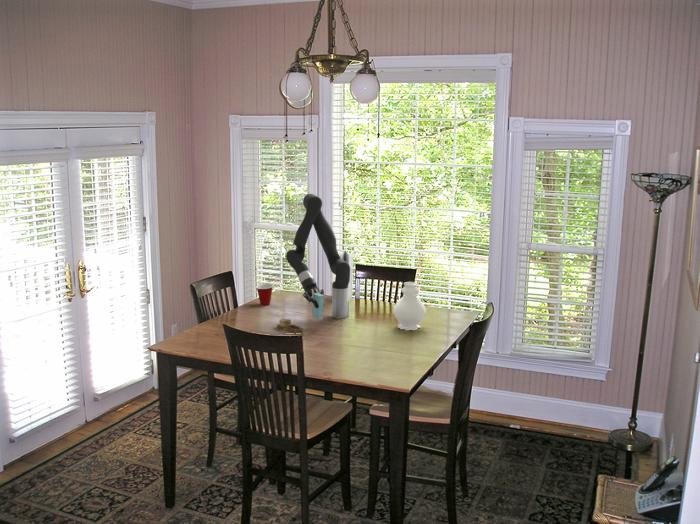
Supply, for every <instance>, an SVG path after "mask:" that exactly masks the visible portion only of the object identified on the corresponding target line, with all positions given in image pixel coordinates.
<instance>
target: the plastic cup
mask: <svg viewBox="0 0 700 524" xmlns="http://www.w3.org/2000/svg"><path fill="white" fill-rule="evenodd" d="M255 288H256V290H257V296H258V299H259V305H260V306H262V307H263V306H264V307H266V306H270V304H271V300H272V294H273V288H274V284H271V283H265V284H263V283H262V284H259V285H256V286H255Z"/></svg>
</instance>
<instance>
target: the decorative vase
mask: <svg viewBox="0 0 700 524" xmlns="http://www.w3.org/2000/svg"><path fill="white" fill-rule="evenodd" d="M403 285H404V286H403V288H402V289H401V292H402V294H403V296H402V297H401V298H399V300H398V301H397V302H396V303H395V305H394V307H393V315H394V317H395V318H396V320H397V322H399V324H398V325H397V328H398V329H399V328H400V330H402V329H405V330H404V331H409V330H413V331H415V330H414V329H418V328H419V327H420V328H421V325H419V324H420V323H421V322H422V321H423V319H425V317H426V314H427V310H426V309H427V308H426V307H425V304H424V303H423V302H422V300H421V299H420V298H419V297H418V296H417V295H418V294H419V293H420V290H419V287H417V286H418V282H414V281H405V282H403ZM418 330H419V329H418Z"/></svg>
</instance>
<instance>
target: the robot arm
mask: <svg viewBox="0 0 700 524" xmlns="http://www.w3.org/2000/svg"><path fill="white" fill-rule="evenodd" d="M302 203H303V207H304V208H305V215H304V217H303V220H302V221H301V223H300V225H299V226H298V228H297V231H296V233H295V237H294V239H293V242H292V243H293V245H294V246H295V249H289V250H288V251H287V252H286V255H285V258H286V261H287V263H288V264H289V265H290V266H291V268H292V269H293V270H294V271H295V273H296V276H297V277H298V280H299V283H300V285H301V286H302V288H303V290H304V292H303V293H302V297H304V298H305V300H306V301H307V302H308V303H312V305H313V304H314V306H315V307H316V308H318V307H319V305H318V303H317V301H315V300H316V299H315V296H314V293H319V294H322V295H324V296H325V291H324V289H323V288H322V289H320V288H319V287H318V284H317V282H316V280H315V278H314V276H313V274H312V273H311V272H310V269H309V268H308V266H307V264H306V263H305V262H303V261H304V259H305V254H306V245H307V241H308V239H309V236H310V233H311V231H312V228H314V231H315V233H316V236H317V239H318V240H319V243H320V246H321V247H322V249H323V252H324V254H325V256H326V260H327V262H328V265H329V269H330V272H332V273H331V274H334V275H335V279H334V281H333V282H332V283H331V287H332V288H331V317H332V318H335V319H345V318H348V317H349V316H350V300H348V284H349V282H350V265H349V264H348V263H347V262H346V261H343V260H342V259H341V258H340V254H339V252H338V250H337V249H338V248H337V238H336V235H335V233H334V230H333V228H332V226H331V224H330V223H329V221H328V219H326V217H325V215H324V214H323V211H322V208H323V201H322V198H321V197H320V196H319V195H317V194H314V193H308V194H306V195H305V196H304V198H303V200H302Z"/></svg>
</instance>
